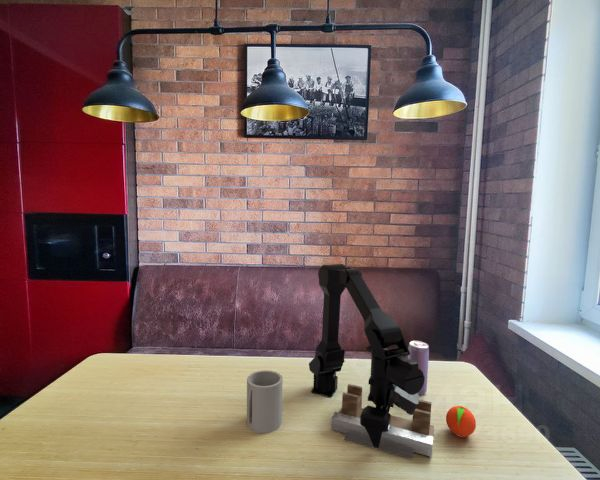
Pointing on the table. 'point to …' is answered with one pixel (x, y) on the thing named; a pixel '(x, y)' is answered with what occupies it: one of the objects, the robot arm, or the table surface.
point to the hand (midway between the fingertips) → (379, 435)
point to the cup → (264, 401)
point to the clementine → (460, 421)
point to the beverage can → (420, 359)
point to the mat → (381, 446)
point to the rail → (385, 434)
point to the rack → (417, 424)
